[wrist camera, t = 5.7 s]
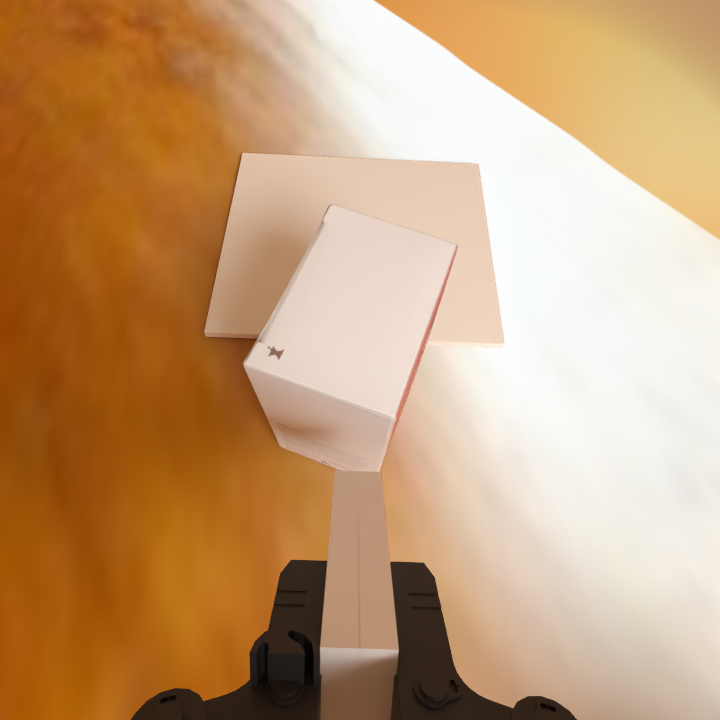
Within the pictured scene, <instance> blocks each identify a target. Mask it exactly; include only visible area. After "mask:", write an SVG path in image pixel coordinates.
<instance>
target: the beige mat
mask: <svg viewBox="0 0 720 720" xmlns="http://www.w3.org/2000/svg"><path fill="white" fill-rule="evenodd" d="M330 204H335V205H338V206H341V207H344V208H347V209H350V210H353V211H357V212H360V213H363V214H366V215H369V216H372V217H375V218H378V219H382V220H385V221H388V222H391V223H394V224H397V225H400V226H403V227H406V228H410V229H413V230H416V231H419V232H422V233H425V234H428V235H431V236H435V237H438V238H440V239H443V240H446V241H449V242H452V243H455V244H457V245H458V249H457V252H456V255H455V258H454V261H453V264H452V267H451V271H450V274H449V277H448V280H447V283H446V286H445V290H444V293H443V296H442V299H441V302H440V305H439V308H438V311H437V314H436V317H435V320H434V323H433V326H432V329H431V332H430V335H429V338H428V341H427V344H426V345H434V346H460V347H486V348H502V347H503V346H504V337H503V330H502V323H501V316H500V309H499V302H498V296H497V289H496V282H495V275H494V268H493V261H492V254H491V247H490V240H489V233H488V226H487V219H486V212H485V205H484V198H483V191H482V184H481V177H480V171H479V164H470V163H449V162H427V161H406V160H384V159H363V158H341V157H320V156H298V155H277V154H255V153H242V158H241V163H240V167H239V172H238V177H237V181H236V186H235V190H234V195H233V200H232V204H231V209H230V214H229V218H228V223H227V228H226V232H225V237H224V242H223V246H222V251H221V256H220V260H219V265H218V269H217V274H216V279H215V283H214V288H213V293H212V297H211V302H210V307H209V311H208V316H207V321H206V325H205V330H204V333H205V335H206V337H226V338H252V339H258V338H259V336H260V334H261V333H262V331H263V329H264V327H265V326H266V324H267V322H268V320H269V319H270V317H271V315H272V313H273V312H274V310H275V308H276V306H277V304H278V302H279V300H280V299H281V297H282V295H283V293H284V291H285V289H286V288H287V286H288V284H289V282H290V280H291V278H292V276H293V275H294V273H295V271H296V269H297V267H298V265H299V263H300V262H301V260H302V258H303V256H304V254H305V252H306V250H307V248H308V246H309V245H310V243H311V241H312V239H313V237H314V235H315V233H316V231H317V229H318V227H319V225H320V223H321V221H322V218H323V216H324V214H325V212H326V209H327V208H328V206H329V205H330Z"/></svg>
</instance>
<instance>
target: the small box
mask: <svg viewBox="0 0 720 720" xmlns="http://www.w3.org/2000/svg"><path fill="white" fill-rule="evenodd" d="M457 249H458V245H457V244H455V243H452V242H449V241H446V240H443V239H440V238H438V237H435V236H431V235H428V234H425V233H422V232H419V231H416V230H413V229H410V228H406V227H403V226H400V225H397V224H394V223H391V222H388V221H385V220H382V219H378V218H375V217H372V216H369V215H366V214H363V213H360V212H357V211H353V210H350V209H347V208H344V207H341V206H338V205H335V204H330V205H329V206H328V208H327V209H326V212H325V214H324V216H323V218H322V221H321V223H320V225H319V227H318V229H317V231H316V233H315V235H314V237H313V239H312V241H311V243H310V245H309V246H308V248H307V250H306V252H305V254H304V256H303V258H302V260H301V262H300V263H299V265H298V267H297V269H296V271H295V273H294V275H293V276H292V278H291V280H290V282H289V284H288V286H287V288H286V289H285V291H284V293H283V295H282V297H281V299H280V300H279V302H278V304H277V306H276V308H275V310H274V312H273V313H272V315H271V317H270V319H269V320H268V322H267V324H266V326H265V327H264V329H263V331H262V333H261V334H260V336H259V338H258V339H257V341H256V342H255V344H254V345H253V347H252V349H251V350H250V352H249V354H248V355H247V357H246V358H245V360H244V362H243V366H244V369H245V371H246V373H247V375H248V378H249V380H250V382H251V384H252V387H253V389H254V391H255V393H256V395H257V398H258V400H259V402H260V404H261V406H262V408H263V411H264V413H265V415H266V417H267V419H268V421H269V424H270V426H271V428H272V430H273V432H274V435H275V437H276V439H277V441H278V444H279V446H280V447H282V448H285V449H287V450H290V451H293V452H295V453H298V454H300V455H303V456H305V457H308V458H310V459H313V460H315V461H318V462H320V463H323V464H326V465H328V466H331V467H333V468H336V469H338V470H341V471H369V472H380V470H381V467H382V464H383V461H384V458H385V456H386V453H387V450H388V447H389V444H390V442H391V439H392V436H393V433H394V431H395V428H396V425H397V423H398V420H399V418H400V415H401V412H402V410H403V407H404V404H405V402H406V399H407V396H408V394H409V391H410V388H411V385H412V382H413V380H414V377H415V374H416V371H417V368H418V366H419V363H420V360H421V357H422V355H423V352H424V349H425V346H426V344H427V341H428V338H429V335H430V332H431V329H432V326H433V323H434V320H435V317H436V314H437V311H438V308H439V305H440V302H441V299H442V296H443V293H444V290H445V286H446V283H447V280H448V277H449V274H450V271H451V267H452V264H453V261H454V258H455V255H456V252H457Z"/></svg>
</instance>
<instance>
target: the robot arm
mask: <svg viewBox="0 0 720 720" xmlns="http://www.w3.org/2000/svg"><path fill="white" fill-rule="evenodd" d="M131 720H577V719H576V718H575V717H574V716H573V715H572V714H571V712H570V711H569V710H567V709H566V708H564V707H563V706H562V705H560V704H559V703H557V702H556V701H553V700H550V699H547V698H545V697H542V696H528V697H526V698H524V699H522V700H520V701H518V702H517V703H516V705H515V707H514V708H510V707H507V706H505V705H502V704H499V703H496V702H493V701H490V700H488V699H486V698H484V697H482V696H479V695H478V694H477V693H475V692H474V691H472V690H471V689H470V688H469V687H468V686H467V685H466V684H465V683H464V682H463V681H462V679H461V678H460V676H459V675H458V673H457V672H456V669H455V666H454V663H453V659H452V655H451V650H450V645H449V641H448V636H447V632H446V627H445V623H444V618H443V614H442V611H441V605H440V600H439V597H438V591H437V586H436V582H435V577H434V576H433V575H432V573H431V572H430V571H429V569H428V568H427V567H426V565H425V564H424V563H415V562H390V556H389V546H388V536H387V526H386V516H385V505H384V495H383V485H382V475H381V472H369V471H341V470H335V478H334V489H333V501H332V513H331V525H330V537H329V548H328V560H327V561H313V560H291V561H290V562H289V563H288V565H287V566H286V567H285V568H284V570H283V571H282V572H281V573H280V577H279V582H278V587H277V593H276V596H275V601H274V607H273V610H272V615H271V619H270V624H269V628H268V631H266V632H264V633H263V634H262V635H261V636H260V637H259V638H258V639H257V640H256V641H255V643H254V645H253V647H252V649H251V651H250V680H249V681H248V682H247V683H246V684H245V685H243V686H242V687H240V688H239V689H237V690H236V691H233V692H231V693H229V694H226V695H223V696H220V697H217V698H213V699H210V700H206V701H203V700H202V698H201V697H200V695H199V694H197V693H195V692H193V691H191V690H190V689H180V688H174V689H171V690H167V691H164V692H161V693H159V694H157V695H156V696H154V697H153V698H151V699H149V700H148V701H146V702H145V704H144V705H143V706H142V707H141V708H140V709H139V710H138V711H137V712H136V713H135V715H134V716H133V717H132V719H131Z"/></svg>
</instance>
